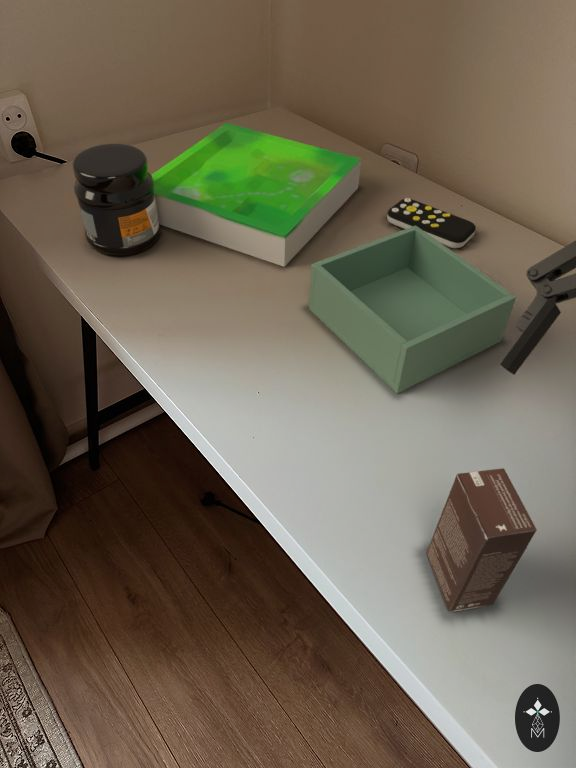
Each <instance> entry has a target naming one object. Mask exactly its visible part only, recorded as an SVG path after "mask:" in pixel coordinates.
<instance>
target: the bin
mask: <svg viewBox="0 0 576 768" xmlns="http://www.w3.org/2000/svg"><path fill="white" fill-rule="evenodd" d="M310 270H311V273H310V285H309V286H310V287H309V289H310V290H309V303H308V309H309V311H310V312H311V313H312V314H314V315H315V316H316V317H317V318H318V319H319V320H320V321H321V322H322V323H323V324H324V325H325V326H326V327H327V328H328V329H329V330H330V331H331V332H333V334H334V335H335V336H336V337H338V338H339V339H340V341H341V342H343V343H344V344H345V345H346V346H347V347H348V348H349V349H350V350H351V351H352V352H353V353H354V354H355V355H356V356H357V357H358V358H359V359H360V360H361V361H362V362H364V363H365V364H366V365H367V366H368V367H369V369H371V371H373V372H374V373H375V374H376V375H377V376H378V377H379V378H380V379H381V380H382V381H383V382H384V383H385V384H387V386H388V387H390V388H391V390H393V391H394V392H395V393H396V394H400V393H401V392H403V391H405V390H407V389H410V388H412V387H413V386H415V385H418V384H419V383H421V382H423V381H425V380H427V379H430V378H431V377H433V376H435V375H438V374H440V373H441V372H443V371H446V370H447V369H449V368H451V367H453V366H455V365H457V364H459V363H461V362H463V361H465V360H467V359H469V358H471V357H474V356H475V355H477V354H479V353H481V352H483V351H485V350H487V349H489V348H490V347H491V348H492V347H493V346H495V345H497V344H499V343H501V341H502V338H503V335H504V333H505V330H506V327H507V325H508V322H509V319H510V316H511V313H512V310H513V308H514V305H515V302H516V299H517V296H516V295H514V294H513V293H512V292H510V291H509V290H508V289H506V288H505V287H503V286H502V285H501V284H499V283H497V282H496V281H494V280H493V279H492V278H490V277H489V276H488V275H486V274H485V273H484V272H482V271H480V269H478V268H476V267H475V266H474V265H472V264H471V263H470V262H468V261H467V260H465V259H464V258H462V257H461V256H460V255H459V254H457V253H455V252H454V251H453V250H451V249H449V247H448V246H445V245H443V244H441V243H440V242H438V241H437V240H436V239H434V238H433V237H431V236H430V235H429V234H427V233H426V232H424V231H423V230H421V229H420V228H419V227H417V226H413V227H410V228H407V229H402V230H399V231H397V232H394V233H392V234H389V235H386V236H383V237H381V238H378V239H374V240H372V241H369V242H367V243H364V244H362V245H360V246H357V247H354V248H351V249H349V250H346V251H343V252H340V253H338V254H335V255H332V256H330V257H327V258H325V259H322V260H318V261H317V262H314V263H311V269H310Z"/></svg>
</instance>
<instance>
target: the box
mask: <svg viewBox="0 0 576 768" xmlns="http://www.w3.org/2000/svg"><path fill="white" fill-rule="evenodd" d="M537 531H538V530H537V528H536V526H535V524H534V522H533V520H532V518H531V516H530V514H529V512H528V511H527V509H526V507H525V504H524V503H523V501H522V500H521V497H520V495H519V494H518V492H517V490H516V488H515V486H514V485H513V482H512V480H511V479H510V477H509V475H508V473H507V471H506V469H505V468H504V467H503V468H493V469H486V470H485V469H484V470H478V471H471V472H459V473H457V474H456V475H455V478H454V481H453V483H452V486H451V487H450V490H449V494H448V495H447V499H446V501H445V504H444V506H443V508H442V511H441V514H440V517H439V520H438V522H437V524H436V526H435V529H434V532H433V535H432V537H431V540H430V543H429V546H428V548H427V550H426V555H427V558H428V561H429V564H430V567H431V569H432V572H433V574H434V575H433V576H434V577H435V580H436V582H437V584H438V587H439V591H440V593H441V595H442V599H443V601H444V603H445V605H446V608H447V611H448V613H449V612H450V613H452V612H456V613H457V612H460V611H467V610H472V609H477V608H482V607H488V606H492V605H494V604H495V602H496V600H497V599H498V598H499V595H500V594H501V592H502V590H503V589H504V587H505V585H506V583H507V582H508V580H509V578H510V577H511V575H512V573H513V572H514V570H515V568H516V566H517V565H518V563H519V561H520V559H521V558H522V556H523V554H524V553H525V551H526V550H527V548H528V547H529V544H530V542H531V541H532V539H533V537H534V535H536V532H537Z"/></svg>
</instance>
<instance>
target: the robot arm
mask: <svg viewBox="0 0 576 768" xmlns="http://www.w3.org/2000/svg"><path fill="white" fill-rule="evenodd" d="M575 269H576V240H574V241H572V242H571V243H569V244H567V245H566V246H564V247H562V248H561V249H559V250H557V251H555V252H554V253H552V254H550V255H548V256H547V257H545V258H544V259H542V260H540V261H539V262H537V263H535V264H534V265H532V266H530V267H529V268H527V270H526V273H525V275H526V277H527V279H528V281H529V282H530V284H531V285H532V286H533V287H534V289H535V290H536V295H535V297H534V299H533V300H532V302H531V303H530V304H529V306H528V307H527V308H526V310H525V311H524V312H523V314H522V315H521V316H520V317H519V318H518V320H517V322H516V328H517V330H518V331H519V332H521V333H522V334H521V335H520V336H519V338H518V339H517V340H516V342H515V343H514V344H513V346H512V347H511V348H510V350H509V351H508V353H507V354H506V355H505V357H504V358H503V359H502V361H501V362H500V363H499V366H501V367H502V368H503V369H505V370H506V371H507V372H508V373H510V374H511V375H513V376H515V375H516V373H517V372H518V371H519V369H520V368H521V367H522V365H523V364H524V363H525V362H526V360H527V359H528V357H529V356H530V355H531V353H532V352H533V351H534V350H535V348H536V347H537V346H538V344H539V343H540V341H541V340H542V339H543V337H544V336H545V335H546V334H547V332H548V331H549V329H550V328H551V327H552V325H553V324H554V323H555V321H556V320H557V319H558V317H559V316H560V315H561V314H562V311H561V309H560V308H559V306H558V305H557V304H559V303H562V302H566V301H569V300H573V299H576V273H572V274H570V275H567V276H564V275H566V274H568V273H570V272H572V271H573V270H575Z"/></svg>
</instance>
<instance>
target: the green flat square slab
mask: <svg viewBox="0 0 576 768" xmlns="http://www.w3.org/2000/svg"><path fill="white" fill-rule="evenodd" d="M361 164H362V158H359V157H357V156H352V155H348V154H344V153H340V152H337V151H333V150H329V149H325V148H323V147H318V146H314V145H312V144H311V145H310V144H306V143H303V142H299V141H296V140H293V139H287V138H284V137H281V136H277V135H274V134H269V133H267V132H266V133H265V132H263V131H258V130H254V129H251V128H248V127H243V126H239V125H236V124H232V123H228V122H225V123H224V124H222V125H221V126H220V127H217V129H215V130H213V131H212V132H211V133H209V134H208V135H206V136H205V137H204V138H202V139H201V140H200V141H197V142H196V143H195V144H193V145H192V146H191V147H189V148H188V149H186V150H185V151H183V152H182V153H181V154H179V155H178V156H177V157H175V158H173V159H172V160H170V161H168V162H167V163H166V164H165V165H163V166H162V167H160V168H159V169H157V170H156V171H155V172H153V173H152V174H150V175H151V176H152V178H153V181H154V194H155V201H156V208H157V215H158V222H159V225H160V226H163V227H166V228H169V229H172V230H175V231H178V232H180V233H183V234H186V235H190V236H192V237H195V238H198V239H201V240H204V241H208V242H210V243H213V244H216V245H219V246H221V247H224V248H227V249H230V250H233V251H237V252H240V253H242V254H245V255H247V256H248V255H249V256H252V257H254V258H257V259H260V260H263V261H265V262H269V263H272V264H275V265H277V266H281V267H283V268H285V267H286V266H288V264H289V263H290V262H291V260H292V259H294V257H296V255H298V253H299V252H300V251H301V250H302V249H303V248H304V247H305V246H306V245H307V244H308V243H309V242H310V240H311V239H312V238H313V237H314V236H316V234H317V233H318V232H319V231H320V230H321V229H322V228H323V227H324V225H325V224H326V223H327V222H328V221H329V220H330V219H331V218H332V217H333V215H335V213H337V211H338V210H339V209H340V208H341V207H342V206H343V205H344V204H345V203H346V202H347V201H348V200H349V198H350V197H352V196H353V194H354V193H355V192H356V191H357V190H358V189H359V185H360V175H361V166H362V165H361Z"/></svg>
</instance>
